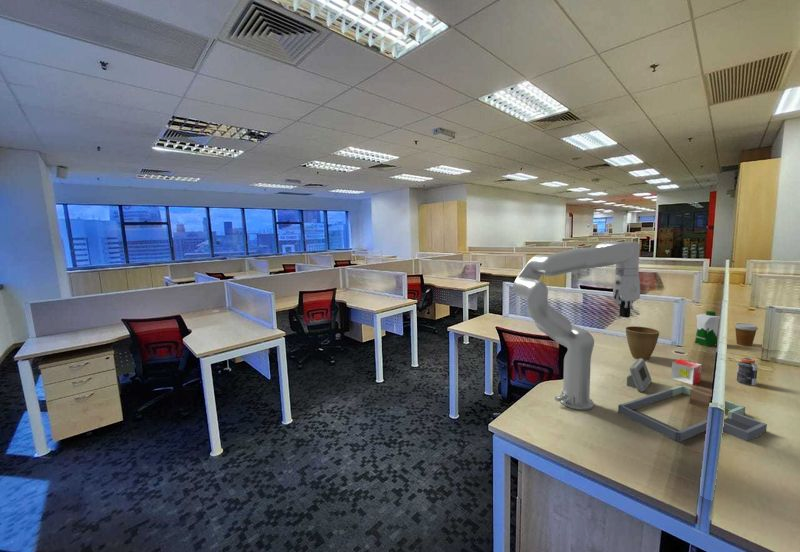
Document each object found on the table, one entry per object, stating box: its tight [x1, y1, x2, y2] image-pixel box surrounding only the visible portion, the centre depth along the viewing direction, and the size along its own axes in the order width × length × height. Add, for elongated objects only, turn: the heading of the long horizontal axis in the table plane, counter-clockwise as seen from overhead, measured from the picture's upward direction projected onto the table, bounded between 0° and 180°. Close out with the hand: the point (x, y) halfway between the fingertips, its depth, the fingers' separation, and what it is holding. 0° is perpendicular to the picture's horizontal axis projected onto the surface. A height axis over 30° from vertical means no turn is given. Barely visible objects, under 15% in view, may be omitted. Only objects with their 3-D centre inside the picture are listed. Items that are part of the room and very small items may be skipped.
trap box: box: [617, 384, 768, 443], centre depth 117 cm, size 40×28×3 cm
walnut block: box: [688, 386, 713, 411], centre depth 125 cm, size 6×6×6 cm
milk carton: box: [694, 310, 721, 347], centre depth 191 cm, size 9×9×20 cm
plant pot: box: [625, 325, 660, 361], centre depth 175 cm, size 15×15×16 cm
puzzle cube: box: [671, 358, 703, 386], centre depth 147 cm, size 8×8×8 cm
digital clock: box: [626, 358, 652, 393], centre depth 143 cm, size 16×9×11 cm, turn 120°
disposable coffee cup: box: [734, 322, 759, 347], centre depth 189 cm, size 10×10×12 cm
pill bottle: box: [736, 357, 758, 386], centre depth 142 cm, size 6×6×11 cm
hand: (624, 316), depth 130 cm, fingers closed
